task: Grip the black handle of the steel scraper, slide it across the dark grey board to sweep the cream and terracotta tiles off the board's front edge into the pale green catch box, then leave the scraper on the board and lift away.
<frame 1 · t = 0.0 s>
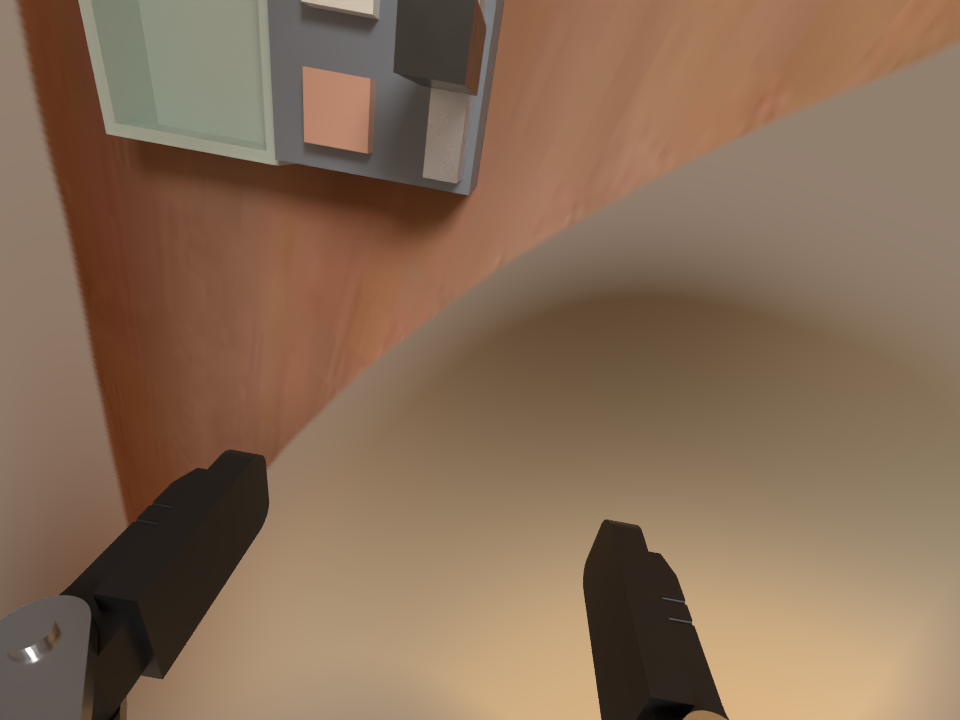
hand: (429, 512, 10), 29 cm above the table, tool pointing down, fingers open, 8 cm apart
board: (402, 64, 31), on the table
scraper: (461, 66, 26), point 6 cm above the table, touching board
tile terracotta: (343, 112, 27), point 6 cm above the table, touching board
catch box: (224, 31, 31), on the table
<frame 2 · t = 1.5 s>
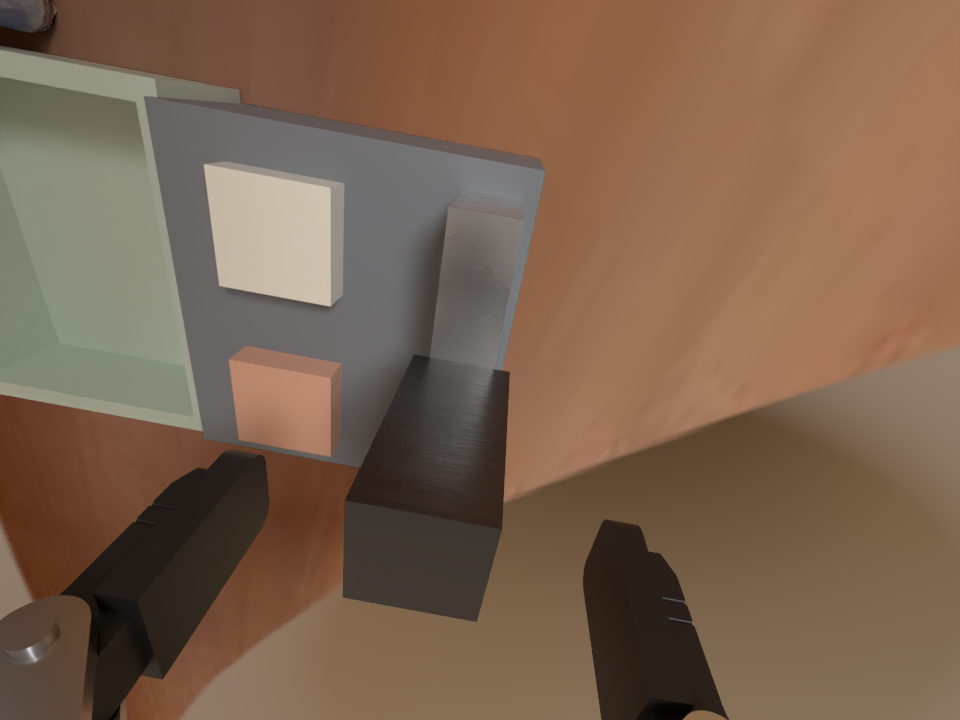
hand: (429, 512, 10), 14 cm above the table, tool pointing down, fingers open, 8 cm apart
board: (384, 282, 23), on the table
tile cream: (288, 232, 16), point 6 cm above the table, touching board
scraper: (467, 353, 17), point 6 cm above the table, touching board
tile terracotta: (295, 394, 19), point 6 cm above the table, touching board
catch box: (138, 237, 23), on the table
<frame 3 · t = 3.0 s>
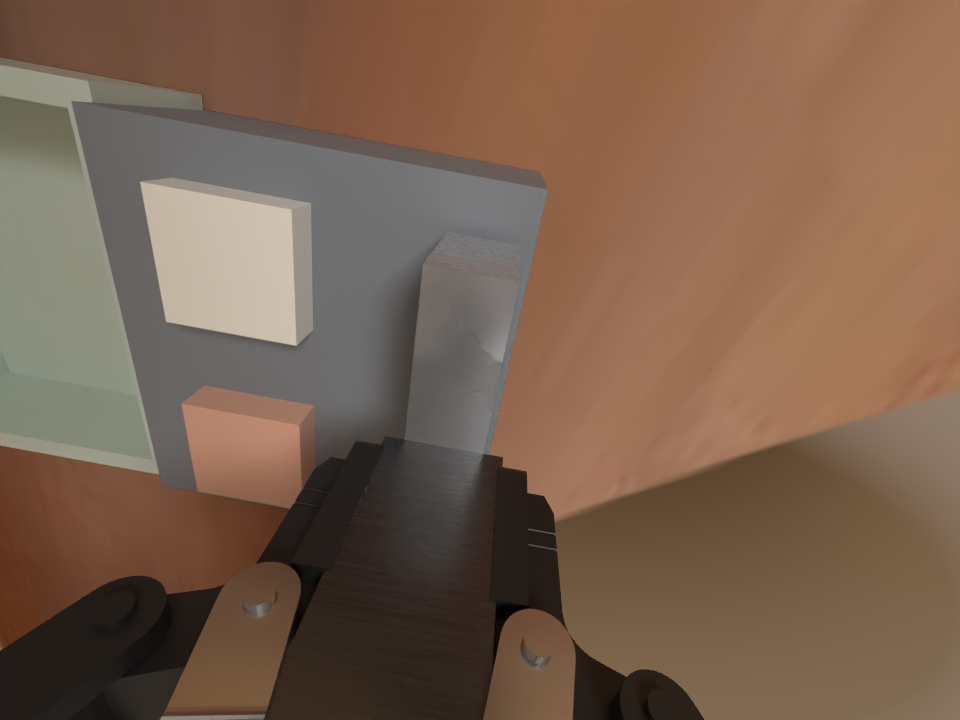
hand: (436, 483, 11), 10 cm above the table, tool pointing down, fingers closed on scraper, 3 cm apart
board: (367, 307, 20), on the table
tile cream: (247, 259, 13), point 6 cm above the table, touching board
scraper: (453, 416, 15), point 7 cm above the table, touching gripper
tile terracotta: (263, 439, 17), point 6 cm above the table, touching board
catch box: (95, 257, 20), on the table
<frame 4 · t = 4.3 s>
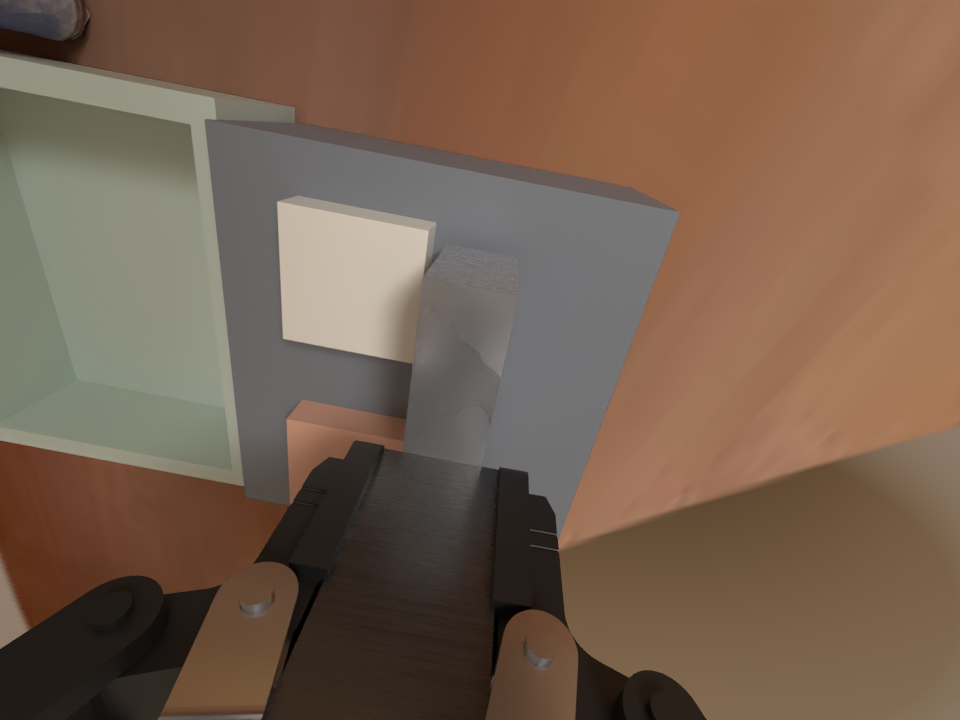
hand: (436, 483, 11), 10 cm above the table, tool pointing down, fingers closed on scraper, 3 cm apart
board: (443, 319, 20), on the table
tile cream: (363, 276, 13), point 6 cm above the table, touching board
scraper: (452, 427, 15), point 7 cm above the table, touching gripper
tile terracotta: (355, 453, 17), point 6 cm above the table, touching board
catch box: (170, 266, 20), on the table
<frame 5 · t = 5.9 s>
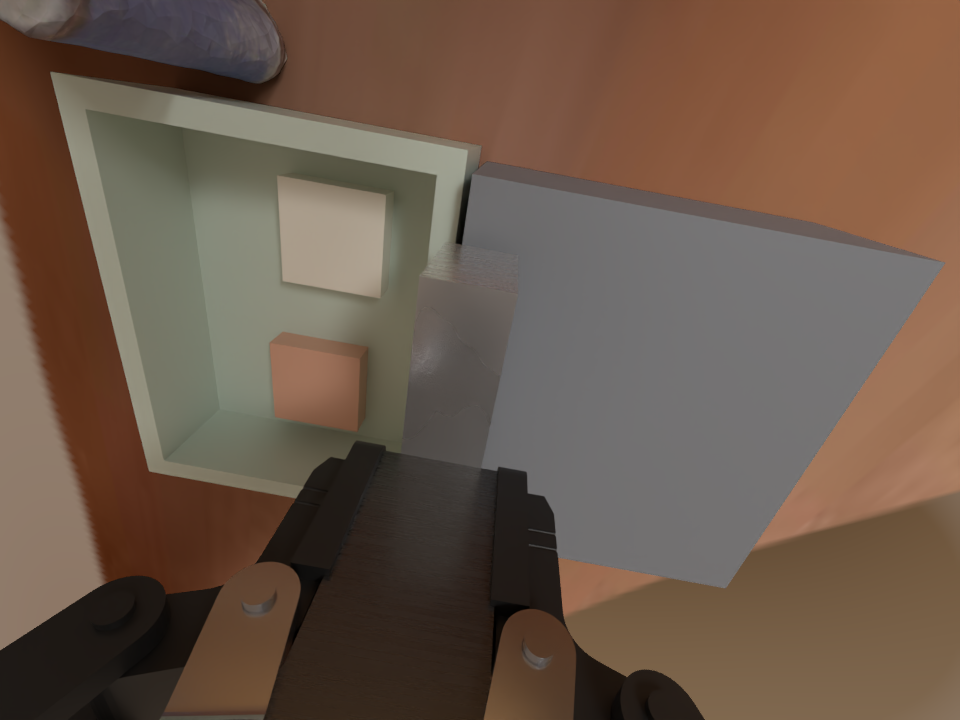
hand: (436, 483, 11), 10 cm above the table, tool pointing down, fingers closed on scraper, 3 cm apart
board: (598, 349, 20), on the table
tile cream: (331, 240, 17), point 2 cm above the table, tilted 180°, touching catch box
scraper: (452, 428, 15), point 7 cm above the table, touching gripper
tile terracotta: (315, 389, 20), point 2 cm above the table, tilted 180°, touching catch box
catch box: (327, 299, 20), on the table
when the fingers open (10 cm above the table, at t = 7.8 s): scraper stays where it is, resting on board.
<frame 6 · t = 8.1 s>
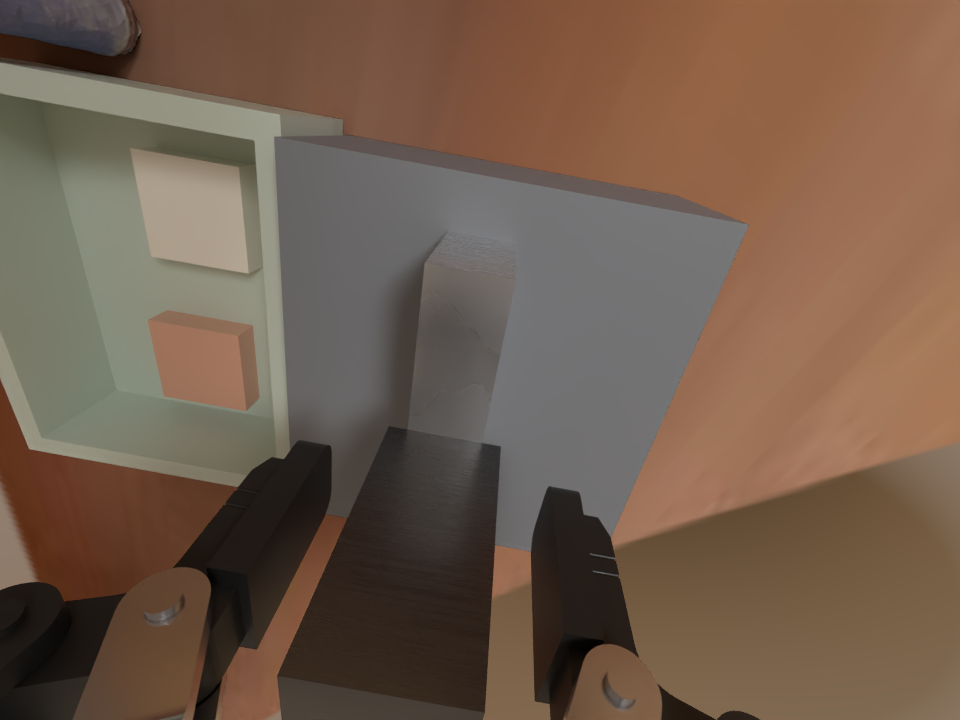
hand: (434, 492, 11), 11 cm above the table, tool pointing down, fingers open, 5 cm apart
board: (484, 328, 20), on the table
tile cream: (192, 214, 17), point 2 cm above the table, tilted 180°, touching catch box
scraper: (454, 408, 15), point 6 cm above the table, touching board
tile terracotta: (199, 367, 20), point 2 cm above the table, tilted 180°, touching catch box
catch box: (212, 277, 20), on the table
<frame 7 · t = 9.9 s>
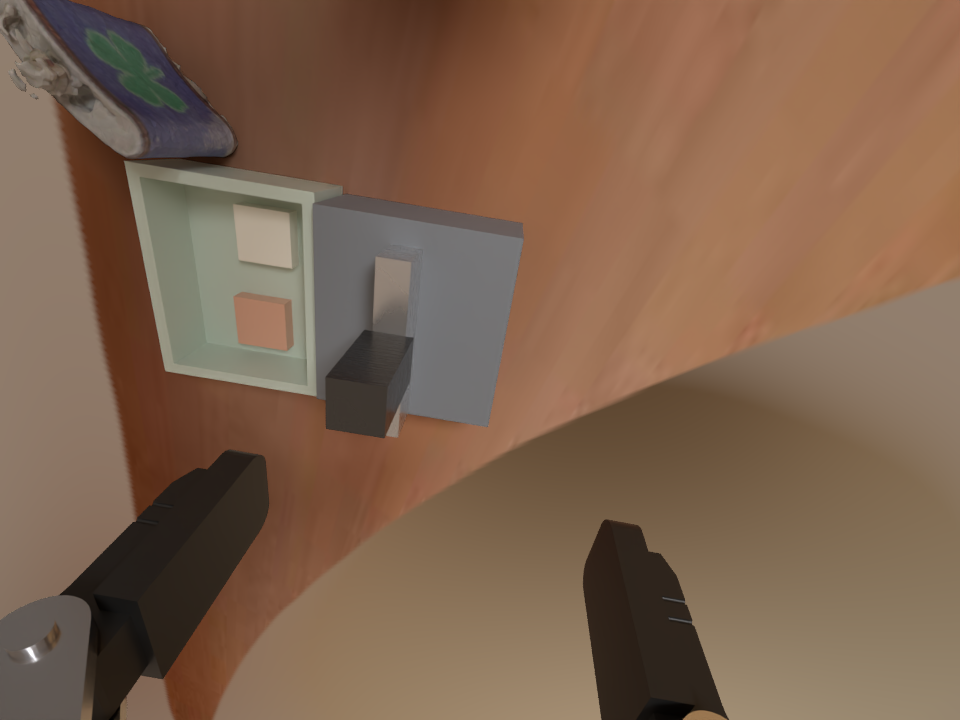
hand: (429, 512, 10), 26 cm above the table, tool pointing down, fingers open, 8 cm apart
board: (425, 299, 35), on the table
tile cream: (263, 237, 32), point 2 cm above the table, tilted 180°, touching catch box
scraper: (401, 334, 30), point 6 cm above the table, touching board
tile terracotta: (260, 324, 35), point 2 cm above the table, tilted 180°, touching catch box
catch box: (267, 272, 35), on the table
flask: (184, 94, 30), on the table
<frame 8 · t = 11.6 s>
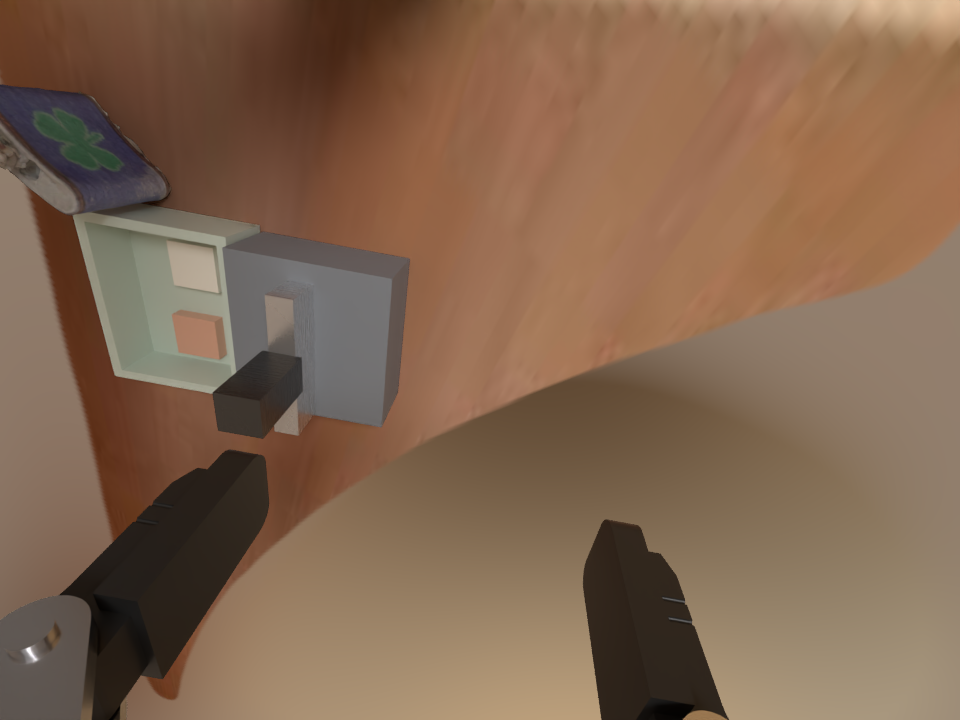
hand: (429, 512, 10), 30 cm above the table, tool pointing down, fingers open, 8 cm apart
board: (335, 318, 42), on the table
tile cream: (192, 267, 38), point 2 cm above the table, tilted 180°, touching catch box
scraper: (303, 350, 37), point 6 cm above the table, touching board
tile terracotta: (196, 337, 41), point 2 cm above the table, tilted 180°, touching catch box
catch box: (202, 293, 42), on the table
flask: (124, 148, 36), on the table
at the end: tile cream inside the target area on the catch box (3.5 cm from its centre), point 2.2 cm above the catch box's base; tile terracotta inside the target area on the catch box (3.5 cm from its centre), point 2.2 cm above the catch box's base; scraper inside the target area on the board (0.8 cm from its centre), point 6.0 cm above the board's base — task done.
